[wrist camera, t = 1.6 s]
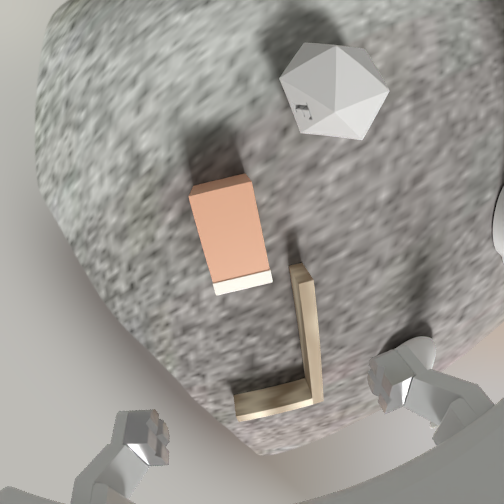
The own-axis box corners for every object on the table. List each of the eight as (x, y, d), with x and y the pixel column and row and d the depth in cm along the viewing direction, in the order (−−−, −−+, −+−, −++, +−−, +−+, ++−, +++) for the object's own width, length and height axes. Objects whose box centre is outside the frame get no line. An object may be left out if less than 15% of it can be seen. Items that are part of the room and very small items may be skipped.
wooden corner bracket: (302, 262, 31) (313, 280, 27) (315, 381, 39) (323, 401, 35) (192, 288, 30) (190, 309, 27) (236, 400, 38) (238, 421, 35)
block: (245, 173, 27) (252, 181, 22) (263, 258, 30) (272, 282, 26) (192, 186, 26) (187, 197, 22) (215, 270, 30) (216, 295, 25)
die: (275, 45, 22) (252, 73, 17) (365, 27, 18) (384, 47, 13) (303, 115, 28) (293, 168, 23) (384, 102, 24) (403, 154, 19)
